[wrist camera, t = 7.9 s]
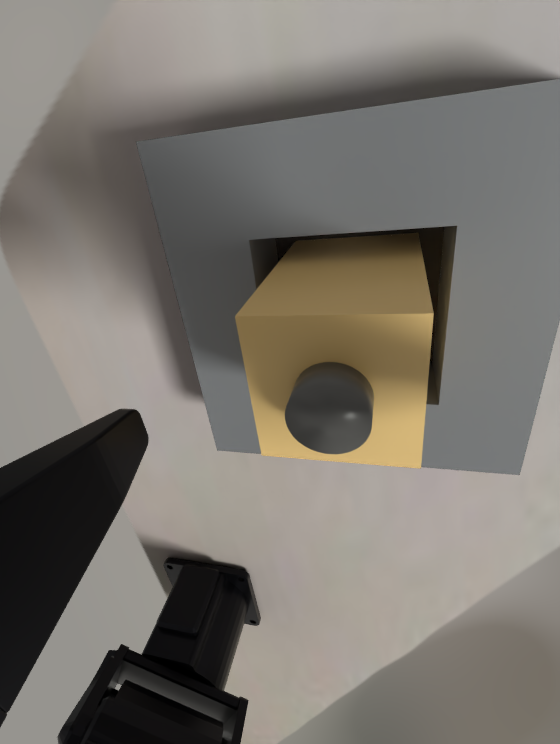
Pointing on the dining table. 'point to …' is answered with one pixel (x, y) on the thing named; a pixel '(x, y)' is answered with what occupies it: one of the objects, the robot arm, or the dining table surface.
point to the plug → (341, 351)
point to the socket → (380, 213)
